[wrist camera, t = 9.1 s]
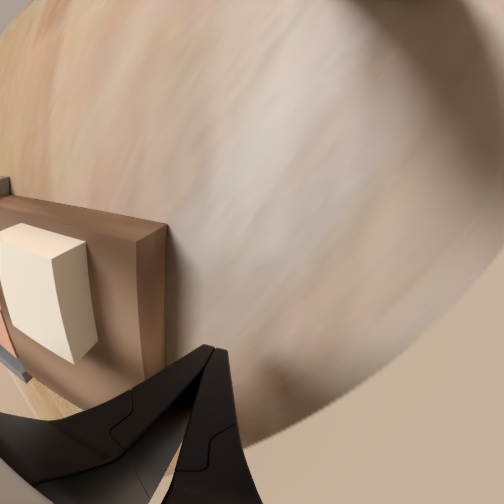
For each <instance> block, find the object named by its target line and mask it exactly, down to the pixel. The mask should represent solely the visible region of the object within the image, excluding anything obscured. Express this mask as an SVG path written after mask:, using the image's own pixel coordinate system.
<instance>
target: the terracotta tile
mask: <svg viewBox="0 0 504 504" xmlns="http://www.w3.org/2000/svg"><path fill="white" fill-rule="evenodd" d="M0 344H1V345H2V346H3V347H4V348H5V349H6V350H7V351H8V352H10V353H11V354H12V355H13V356H14V357H15V358H17V359H18V358H19V356H18V354H17V351H16V349H15V346H14V344H13V341H12V338H11V336H10V333H9V330H8V327H7V324H6V321H5V318H4V315H3V312H2V309H1V306H0Z"/></svg>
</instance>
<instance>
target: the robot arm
mask: <svg viewBox="0 0 504 504" xmlns="http://www.w3.org/2000/svg"><path fill="white" fill-rule="evenodd" d="M237 424H238V423H237V416H236V409H235V402H234V395H233V388H232V380H231V373H230V365H229V357H228V351H227V350H225V349H221V348H215V347H213V346H210V345H206V344H203V345H201V346H200V347H198V348H197V349H195V350H193V351H192V352H190V353H189V354H187V355H185V356H184V357H182V358H181V359H179V360H177V361H176V362H174V363H173V364H171V365H169V366H168V367H166V368H164V369H163V370H161V371H159V372H158V373H156V374H154V375H153V376H151V377H149V378H148V379H146V380H144V381H143V382H141V383H139V384H138V385H136V386H134V387H132V388H131V390H130V389H129V390H127V391H125V392H124V393H122V394H120V395H118V396H116V397H114V398H112V399H110V400H108V401H106V402H104V403H102V404H99V405H97V406H95V407H92V408H90V409H87V410H84V411H82V412H79V413H76V414H74V415H71V416H68V417H66V418H62V419H58V420H51V421H46V420H38V419H32V418H26V417H20V416H15V415H10V414H5V413H1V412H0V504H148V503H149V502H150V499H151V497H152V496H153V494H154V492H155V491H156V489H157V487H158V485H159V483H160V481H161V479H162V478H163V476H164V474H165V472H166V470H167V468H168V466H169V465H170V463H171V461H172V459H173V457H174V455H175V453H176V451H177V450H178V448H179V446H180V444H181V442H182V440H183V442H182V446H181V449H180V453H179V456H178V460H177V464H176V467H175V472H174V475H173V479H172V482H171V484H170V487H169V489H168V491H167V493H166V495H165V497H164V499H163V501H162V503H161V504H263V503H262V501H261V498H260V496H259V494H258V492H257V489H256V487H255V484H254V481H253V479H252V476H251V473H250V470H249V468H248V465H247V462H246V459H245V456H244V452H243V449H242V445H241V440H240V435H239V428H238V425H237Z"/></svg>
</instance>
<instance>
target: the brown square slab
mask: <svg viewBox="0 0 504 504" xmlns="http://www.w3.org/2000/svg"><path fill="white" fill-rule="evenodd" d="M20 223H23V224H27V225H30V226H33V227H37V228H40V229H44V230H47V231H50V232H54V233H57V234H61V235H64V236H68V237H71V238H75V239H78V240H82V241H86V253H87V265H88V276H89V285H90V293H91V300H92V307H93V313H94V319H95V325H96V331H97V336H98V342H97V343H96V344H95V345H94V346H93V347H92V348H91V349H90V350H89V351H88V352H87V353H86V354H85V355H84V356H83V357H82V358H81V359H80V360H79V361H78V362H77V363H76V364H75V365H74V364H72V363H71V362H69V361H67V360H65V359H64V358H62V357H60V356H58V355H57V354H55V353H54V352H52V351H50V350H49V349H47V348H45V347H44V346H42V345H41V344H39V343H38V342H36V341H35V340H33V339H32V338H30V337H29V336H27V335H26V334H24V333H23V332H22V331H20V330H19V329H17V328H16V327H15V326H13V324H12V321H11V318H10V314H9V311H8V308H7V304H6V301H5V297H4V293H3V289H2V285H1V281H0V306H1V309H2V312H3V315H4V318H5V321H6V324H7V327H8V330H9V333H10V336H11V338H12V341H13V344H14V346H15V349H16V351H17V354H18V356H19V358H20V361H21V363H22V365H23V367H24V370H25V371H26V372H27V373H28V374H30V375H31V376H32V377H34V378H35V379H36V380H38V381H39V382H41V383H42V384H43V385H45V386H46V387H48V388H49V389H51V390H52V391H54V392H55V393H57V394H58V395H60V396H61V397H63V398H64V399H66V400H67V401H69V402H71V403H72V404H74V405H76V406H77V407H79V408H81V409H82V410H87V409H90V408H92V407H95V406H97V405H99V404H102V403H104V402H106V401H108V400H110V399H112V398H114V397H116V396H118V395H120V394H122V393H124V392H125V391H127V390H129V389H130V390H131V388H132V387H134V386H136V385H138V384H139V383H141V382H143V381H144V380H146V379H148V378H149V377H151V376H153V375H154V374H156V373H158V372H159V371H161V370H163V369H164V368H166V355H165V258H166V237H167V224H164V223H159V222H154V221H149V220H144V219H139V218H134V217H129V216H124V215H118V214H113V213H108V212H103V211H97V210H92V209H87V208H81V207H76V206H71V205H65V204H60V203H55V202H49V201H44V200H38V199H33V198H27V197H21V196H16V195H10V194H9V195H6V196H2V197H0V231H2V230H4V229H7V228H9V227H12V226H14V225H17V224H20Z"/></svg>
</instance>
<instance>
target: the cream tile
mask: <svg viewBox="0 0 504 504" xmlns="http://www.w3.org/2000/svg"><path fill="white" fill-rule="evenodd" d="M0 281H1V285H2V289H3V293H4V297H5V301H6V304H7V308H8V311H9V314H10V318H11V321H12V324H13V326H15V327H16V328H17V329H19V330H20V331H22V332H23V333H24V334H26V335H27V336H29V337H30V338H32V339H33V340H35V341H36V342H38V343H39V344H41V345H42V346H44V347H45V348H47V349H49V350H50V351H52V352H54V353H55V354H57V355H58V356H60V357H62V358H64V359H65V360H67V361H69V362H71V363H72V364H74V365H75V364H76V363H77V362H78V361H79V360H80V359H81V358H82V357H83V356H84V355H85V354H86V353H87V352H88V351H89V350H90V349H91V348H92V347H93V346H94V345H95V344H96V343H97V342H98V336H97V331H96V325H95V319H94V313H93V307H92V300H91V293H90V285H89V276H88V265H87V253H86V241H82V240H78V239H75V238H71V237H68V236H64V235H61V234H57V233H54V232H50V231H47V230H44V229H40V228H37V227H33V226H30V225H27V224H23V223H20V224H17V225H14V226H12V227H9V228H7V229H4V230H2V231H0Z"/></svg>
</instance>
